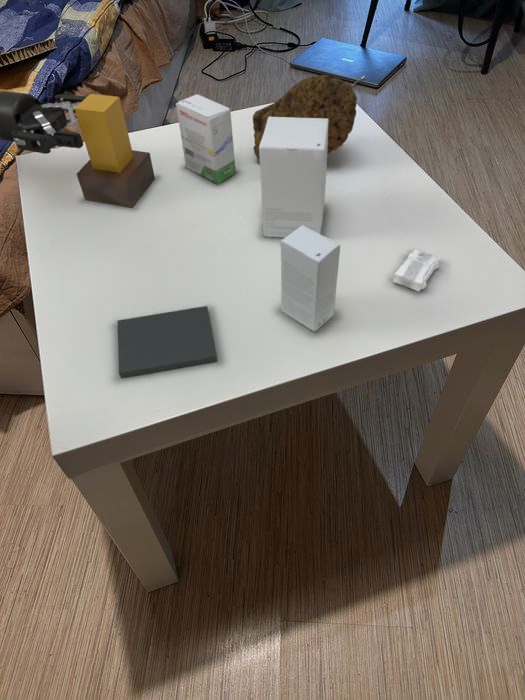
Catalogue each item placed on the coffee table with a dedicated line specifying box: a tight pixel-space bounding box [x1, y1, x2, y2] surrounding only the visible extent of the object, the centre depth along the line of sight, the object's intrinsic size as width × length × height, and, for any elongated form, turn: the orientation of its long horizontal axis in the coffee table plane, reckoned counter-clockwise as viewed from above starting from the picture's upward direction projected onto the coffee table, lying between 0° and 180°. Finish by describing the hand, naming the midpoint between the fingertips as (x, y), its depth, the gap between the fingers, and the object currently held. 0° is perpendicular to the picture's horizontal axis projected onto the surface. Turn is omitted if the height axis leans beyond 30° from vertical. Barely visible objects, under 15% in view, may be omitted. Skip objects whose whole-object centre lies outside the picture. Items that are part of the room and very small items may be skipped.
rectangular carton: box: [259, 117, 328, 239], centre depth 77 cm, size 9×9×15 cm
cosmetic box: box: [280, 225, 341, 333], centre depth 66 cm, size 6×4×12 cm
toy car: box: [392, 248, 442, 292], centre depth 74 cm, size 5×8×2 cm, turn 146°
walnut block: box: [76, 149, 156, 209], centre depth 89 cm, size 9×9×5 cm
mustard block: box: [74, 93, 134, 173], centre depth 83 cm, size 5×5×10 cm
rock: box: [252, 74, 358, 160], centre depth 92 cm, size 13×12×20 cm
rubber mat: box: [117, 305, 218, 379], centre depth 67 cm, size 12×9×1 cm
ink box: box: [175, 93, 237, 185], centre depth 89 cm, size 8×5×12 cm, turn 47°
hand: (94, 127), depth 83 cm, fingers open, 8 cm apart
